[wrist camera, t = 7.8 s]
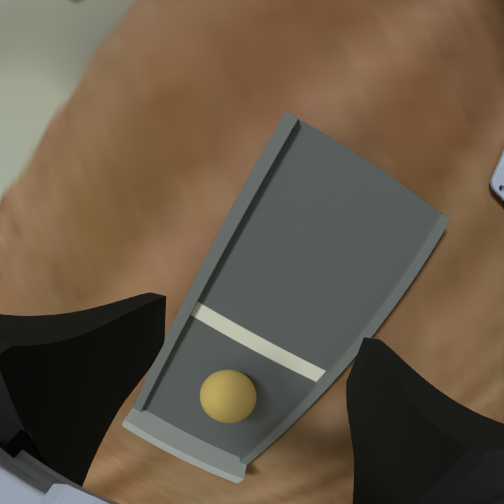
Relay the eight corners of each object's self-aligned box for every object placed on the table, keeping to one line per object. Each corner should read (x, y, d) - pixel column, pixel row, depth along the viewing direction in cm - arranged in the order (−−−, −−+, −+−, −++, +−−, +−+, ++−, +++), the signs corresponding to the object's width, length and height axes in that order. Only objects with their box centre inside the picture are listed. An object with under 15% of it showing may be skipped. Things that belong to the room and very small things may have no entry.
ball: (265, 367, 21) (258, 403, 18) (253, 403, 22) (245, 439, 19) (212, 352, 22) (196, 386, 18) (204, 390, 23) (190, 423, 19)
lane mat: (442, 217, 17) (463, 225, 15) (242, 461, 26) (237, 483, 23) (286, 114, 17) (284, 104, 14) (135, 406, 26) (121, 425, 23)
